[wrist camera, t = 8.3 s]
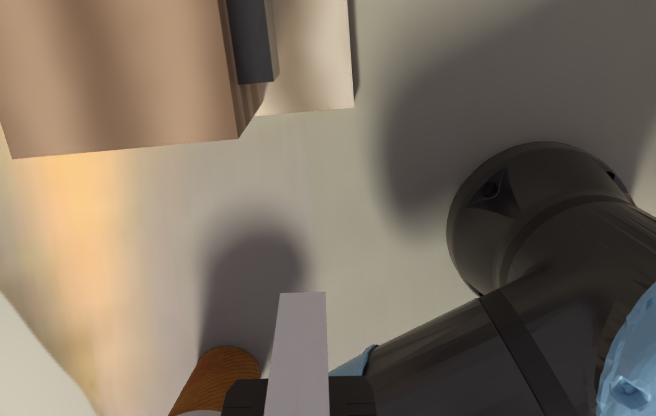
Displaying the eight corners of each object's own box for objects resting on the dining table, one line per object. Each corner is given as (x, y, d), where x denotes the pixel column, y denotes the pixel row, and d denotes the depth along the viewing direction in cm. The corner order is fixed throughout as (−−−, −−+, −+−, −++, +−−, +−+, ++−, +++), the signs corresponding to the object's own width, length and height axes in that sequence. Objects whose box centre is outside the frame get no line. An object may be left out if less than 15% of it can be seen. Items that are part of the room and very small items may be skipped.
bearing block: (341, -63, 36) (357, -117, 22) (352, 104, 40) (371, 145, 26) (66, -38, 36) (-85, -75, 22) (106, 126, 40) (-1, 178, 27)
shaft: (270, -11, 31) (262, -17, 26) (279, 73, 32) (273, 81, 28) (20, 12, 31) (-33, 10, 26) (43, 94, 32) (-3, 106, 28)
